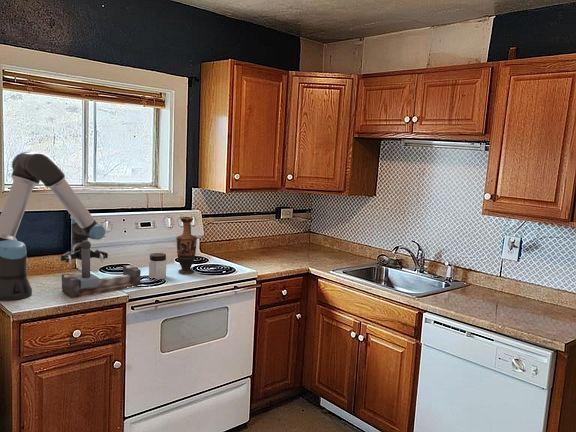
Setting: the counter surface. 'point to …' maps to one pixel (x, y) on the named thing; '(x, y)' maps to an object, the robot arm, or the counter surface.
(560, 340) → the counter surface
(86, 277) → the carriage
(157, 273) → the jar
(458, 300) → the counter surface
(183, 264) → the vase
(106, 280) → the rail
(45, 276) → the counter surface
